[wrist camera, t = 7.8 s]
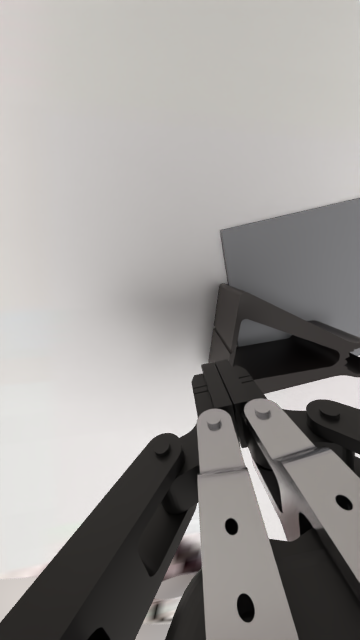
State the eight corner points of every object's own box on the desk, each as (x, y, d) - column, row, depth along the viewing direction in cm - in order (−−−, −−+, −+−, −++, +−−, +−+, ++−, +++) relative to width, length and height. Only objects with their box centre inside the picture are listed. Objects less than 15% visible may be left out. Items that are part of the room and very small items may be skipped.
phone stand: (241, 291, 13) (403, 304, 14) (219, 283, 19) (336, 293, 20) (221, 403, 16) (361, 409, 17) (208, 366, 22) (312, 372, 22)
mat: (371, 195, 18) (375, 194, 17) (363, 352, 22) (366, 353, 22) (220, 230, 18) (221, 230, 18) (242, 378, 23) (243, 380, 22)
